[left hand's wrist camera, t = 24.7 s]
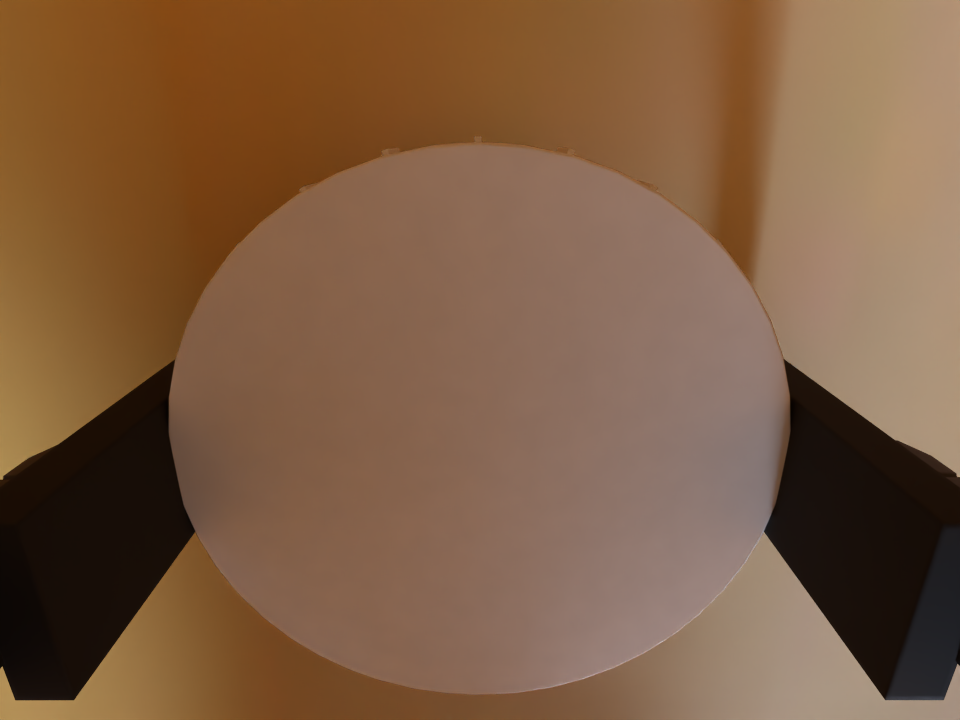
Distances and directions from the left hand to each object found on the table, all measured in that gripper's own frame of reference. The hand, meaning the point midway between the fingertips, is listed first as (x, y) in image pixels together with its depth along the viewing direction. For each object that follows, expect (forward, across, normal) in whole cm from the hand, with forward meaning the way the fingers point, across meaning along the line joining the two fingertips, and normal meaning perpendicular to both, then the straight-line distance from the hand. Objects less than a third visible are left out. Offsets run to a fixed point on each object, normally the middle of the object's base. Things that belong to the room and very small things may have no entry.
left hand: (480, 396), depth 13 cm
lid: (-3, 0, 0) cm, 3 cm away
